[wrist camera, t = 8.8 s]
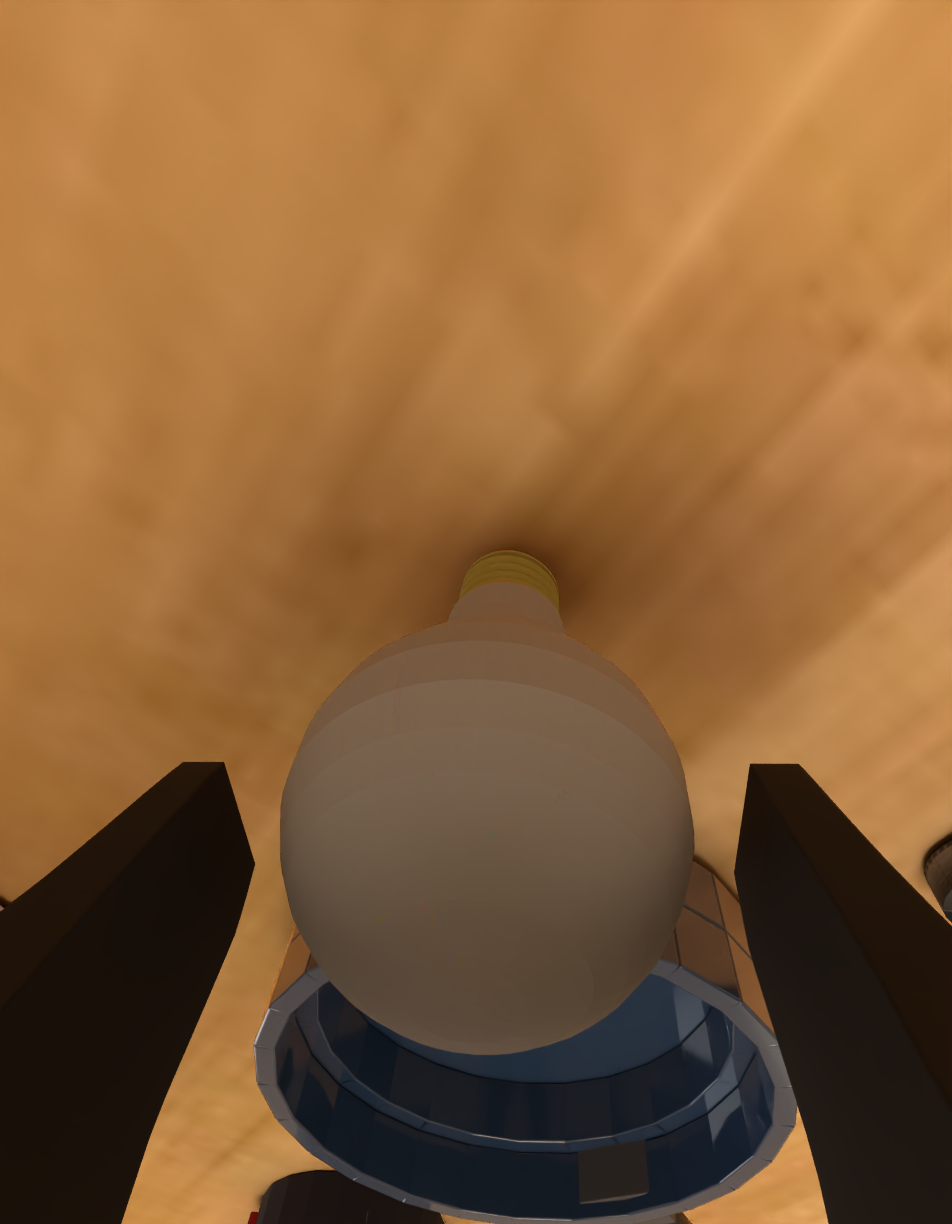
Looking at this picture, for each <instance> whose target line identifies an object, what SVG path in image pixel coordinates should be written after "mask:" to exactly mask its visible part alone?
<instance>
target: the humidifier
mask: <svg viewBox="0 0 952 1224" xmlns="http://www.w3.org/2000/svg"><path fill="white" fill-rule="evenodd" d="M248 1224H443V1221H442V1219H441V1216H440V1214H439V1212H435V1211H432V1210H428V1209H425V1208H421V1207H418V1206H414V1205H411V1204H407V1203H404V1202H403V1201H399V1200H397V1199H395V1198H392V1197H390V1196H388V1195H385V1194H383V1193H381V1192H378V1191H376V1190H374V1189H372V1188H369V1187H367V1186H365V1185H362V1184H360V1183H358V1182H355V1181H353V1179H349V1178H348V1177H346V1176H345V1175H343V1174H342V1173H340V1172H321V1171H314V1172H308V1173H302V1174H297V1175H291V1176H288V1177H286V1178H284V1179H282V1180H280V1181H278V1182H276V1183H273V1184H272V1185H271V1187H270V1188H269V1189H268V1190H267V1192H266V1193H265V1194H264V1196H263V1199H262V1203H261V1206H260V1210H259V1213H258V1212H251V1214H250V1218H249V1221H248Z"/></svg>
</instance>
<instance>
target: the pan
mask: <svg viewBox="0 0 952 1224" xmlns="http://www.w3.org/2000/svg"><path fill="white" fill-rule="evenodd" d="M254 1056H255V1068H256V1081H257V1085H258V1087H259V1089H260V1090H261V1092H262V1094H263V1096H264V1098H265V1100H266V1102H267V1104H268V1105H269V1107H270V1109H271V1111H272V1113H273V1115H274V1117H275V1118H276V1119H277V1121H278V1122H279V1123H280V1124H281V1125H282V1126H283V1127H284V1128H285V1129H286V1130H287V1131H288V1132H289V1133H290V1134H291V1135H292V1136H293V1137H294V1138H295V1139H296V1140H297V1141H298V1142H299V1143H300V1144H301V1145H302V1146H303V1147H304V1148H305V1149H306V1150H307V1151H309V1152H310V1153H311V1154H312V1155H314V1156H315V1157H317V1158H318V1159H320V1160H321V1161H323V1162H325V1163H326V1164H328V1165H329V1166H331V1167H332V1168H334V1169H335V1170H337V1171H338V1172H340V1173H342V1174H343V1175H345V1176H346V1177H348V1178H349V1179H353V1181H355V1182H358V1183H360V1184H362V1185H365V1186H367V1187H369V1188H372V1189H374V1190H376V1191H378V1192H381V1193H383V1194H385V1195H388V1196H390V1197H392V1198H395V1199H397V1200H399V1201H403V1202H404V1203H407V1204H411V1205H414V1206H418V1207H421V1208H425V1209H428V1210H432V1211H435V1212H439V1213H443V1214H446V1215H450V1216H453V1217H459V1218H462V1219H468V1220H475V1221H481V1222H488V1223H494V1224H634V1223H638V1222H642V1221H646V1220H651V1219H655V1218H659V1217H663V1216H667V1215H671V1214H676V1213H680V1212H684V1211H687V1210H692V1209H694V1208H696V1207H699V1206H701V1205H703V1204H705V1203H708V1202H710V1201H712V1200H715V1199H717V1198H719V1197H721V1196H724V1195H726V1194H728V1193H730V1192H733V1191H735V1190H736V1189H738V1188H739V1187H741V1186H742V1185H743V1184H745V1183H746V1182H747V1181H748V1180H750V1179H751V1178H752V1177H754V1176H755V1175H756V1174H758V1173H759V1172H760V1171H761V1170H763V1169H764V1168H765V1167H767V1166H768V1165H769V1164H770V1163H772V1160H774V1159H775V1157H776V1156H777V1154H778V1152H779V1151H780V1149H781V1148H782V1146H783V1144H784V1143H785V1141H786V1140H787V1138H788V1137H789V1135H790V1133H791V1132H792V1130H793V1129H794V1126H795V1123H796V1114H797V1102H796V1099H795V1096H794V1093H793V1090H792V1086H791V1083H790V1080H789V1077H788V1074H787V1071H786V1067H785V1064H784V1061H783V1058H782V1055H781V1051H780V1048H779V1045H778V1042H777V1039H776V1036H775V1032H774V1029H773V1026H772V1023H771V1020H770V1017H769V1013H768V1010H767V1007H766V1004H765V1000H764V997H763V994H762V991H761V988H760V984H759V981H758V978H757V975H756V971H755V968H754V965H753V961H752V958H751V955H750V952H749V948H748V943H747V938H746V933H745V928H744V923H743V918H742V913H741V908H740V904H739V903H738V901H737V900H736V899H735V898H734V897H733V896H732V895H731V894H730V893H729V891H728V890H727V889H726V888H725V887H724V886H723V885H722V884H721V882H720V881H719V880H718V879H717V878H716V877H715V876H714V875H713V874H712V873H710V871H708V870H707V869H705V868H704V867H702V866H701V865H699V864H697V863H696V862H694V861H693V862H692V867H691V872H690V876H689V881H688V886H687V891H686V895H685V900H684V904H683V907H682V911H681V914H680V917H679V919H678V921H677V924H676V926H675V928H674V930H673V932H672V935H671V937H670V939H669V941H668V943H667V945H666V947H665V950H664V952H663V954H662V956H661V958H660V959H659V961H658V962H657V964H656V966H655V967H654V968H653V970H652V971H651V972H650V973H649V975H648V976H647V977H646V978H645V979H644V980H643V981H642V982H641V983H640V985H639V986H638V987H637V988H636V989H635V990H634V991H633V992H632V993H631V994H630V995H629V996H628V998H627V999H626V1000H625V1001H624V1002H623V1003H622V1004H621V1005H620V1006H619V1007H618V1008H617V1009H615V1010H614V1011H613V1012H611V1013H610V1014H609V1015H608V1016H606V1017H605V1018H603V1019H602V1020H600V1021H599V1022H597V1023H596V1024H594V1025H593V1026H591V1027H590V1028H588V1029H586V1030H584V1031H582V1032H580V1033H578V1034H576V1035H574V1036H572V1037H570V1038H568V1039H565V1040H562V1041H559V1042H556V1043H553V1044H550V1045H547V1046H543V1047H539V1048H535V1049H531V1050H527V1051H523V1052H517V1053H511V1054H500V1055H473V1054H464V1053H455V1052H450V1051H445V1050H441V1049H436V1048H433V1047H430V1046H427V1045H423V1044H420V1043H418V1042H415V1041H413V1040H411V1039H408V1038H406V1037H404V1036H402V1035H400V1034H398V1033H396V1032H394V1031H392V1030H391V1029H389V1028H387V1027H385V1026H383V1025H382V1024H380V1023H378V1022H376V1021H375V1020H373V1019H372V1018H370V1017H369V1016H367V1015H366V1014H365V1013H363V1012H362V1011H360V1010H359V1009H358V1008H356V1007H355V1006H354V1005H353V1004H352V1003H351V1002H350V1001H349V1000H348V999H346V998H345V997H344V996H343V995H342V994H341V993H340V991H339V990H338V989H337V988H336V987H335V986H334V985H333V984H332V983H331V982H330V980H329V979H328V978H327V977H326V976H325V974H324V973H323V971H322V970H321V969H320V967H319V966H318V964H317V962H316V960H315V959H314V957H313V955H312V953H311V952H310V950H309V948H308V946H307V945H306V943H305V941H304V939H303V938H302V936H301V934H300V932H299V930H298V928H297V926H296V924H294V927H293V930H292V933H291V936H290V939H289V942H288V945H287V947H286V950H285V953H284V956H283V959H282V962H281V965H280V968H279V971H278V974H277V977H276V980H275V982H274V985H273V988H272V991H271V994H270V997H269V1000H268V1002H267V1005H266V1008H265V1011H264V1014H263V1017H262V1020H261V1023H260V1026H259V1028H258V1031H257V1034H256V1037H255V1040H254ZM641 1140H646V1141H645V1150H646V1160H647V1170H648V1180H649V1190H650V1191H649V1192H648V1193H647V1194H644V1195H641V1196H638V1197H634V1198H630V1199H626V1200H618V1201H608V1202H598V1203H584V1204H580V1203H579V1173H578V1151H583V1150H589V1149H595V1148H600V1147H606V1146H612V1145H618V1144H623V1143H629V1142H635V1141H641Z"/></svg>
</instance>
